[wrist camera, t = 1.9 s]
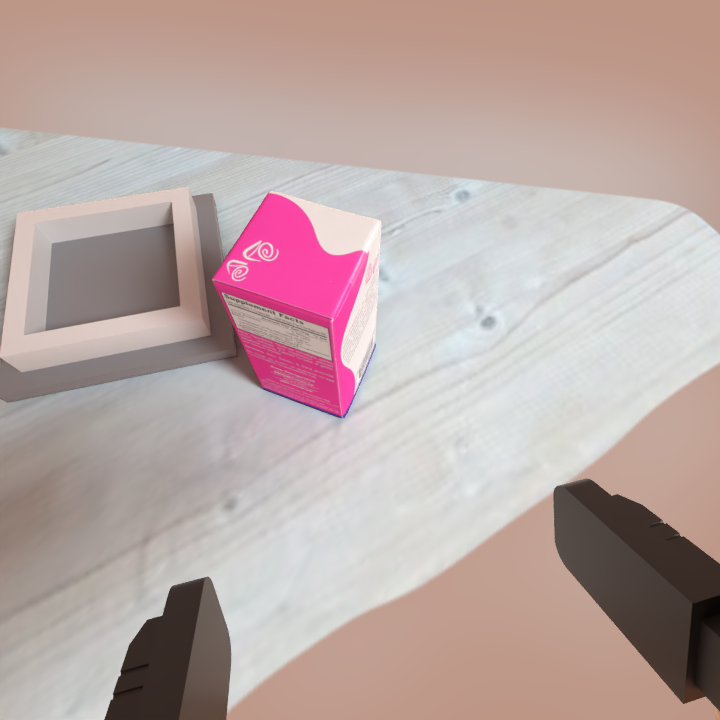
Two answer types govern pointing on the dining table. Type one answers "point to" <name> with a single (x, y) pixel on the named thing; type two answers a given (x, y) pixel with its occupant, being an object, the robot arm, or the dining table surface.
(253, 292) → the supplement box
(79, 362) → the socket
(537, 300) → the dining table surface
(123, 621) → the dining table surface
